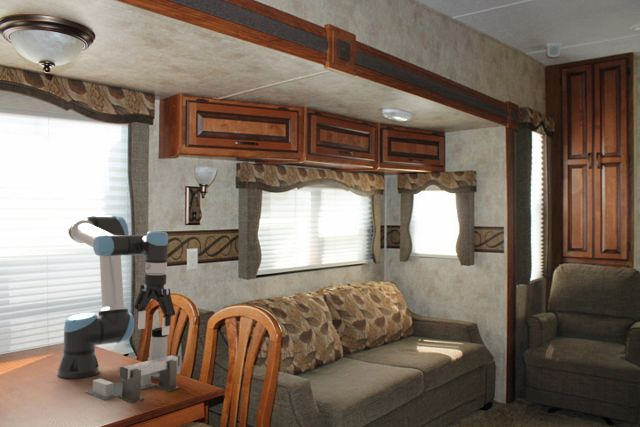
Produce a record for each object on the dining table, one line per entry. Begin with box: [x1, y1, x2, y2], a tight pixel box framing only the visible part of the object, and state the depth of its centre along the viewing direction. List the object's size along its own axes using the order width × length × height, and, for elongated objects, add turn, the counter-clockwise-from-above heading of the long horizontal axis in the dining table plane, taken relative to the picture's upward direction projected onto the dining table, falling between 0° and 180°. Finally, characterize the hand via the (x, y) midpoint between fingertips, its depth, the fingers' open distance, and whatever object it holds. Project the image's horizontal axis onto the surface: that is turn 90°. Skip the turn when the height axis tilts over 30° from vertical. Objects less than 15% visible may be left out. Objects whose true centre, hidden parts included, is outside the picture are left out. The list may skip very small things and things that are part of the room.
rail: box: [118, 354, 181, 380], centre depth 201 cm, size 4×24×4 cm, turn 145°
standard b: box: [154, 361, 181, 393], centre depth 207 cm, size 8×5×10 cm, turn 54°
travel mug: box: [150, 326, 169, 380], centre depth 220 cm, size 6×7×20 cm
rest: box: [85, 373, 158, 401], centre depth 204 cm, size 12×22×5 cm, turn 144°
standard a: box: [117, 370, 145, 404], centre depth 194 cm, size 8×5×10 cm, turn 54°
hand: (153, 331), depth 201 cm, fingers open, 13 cm apart
